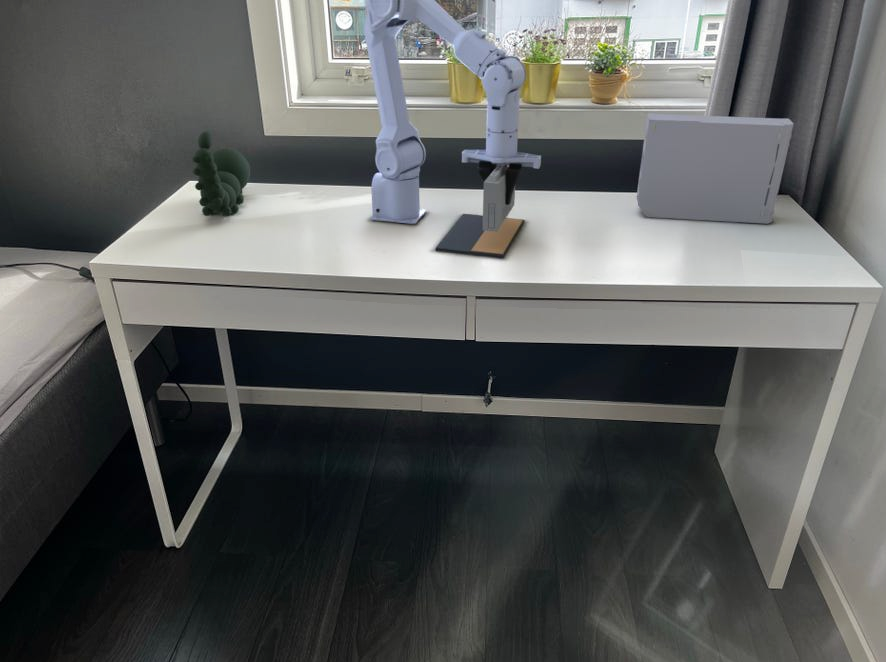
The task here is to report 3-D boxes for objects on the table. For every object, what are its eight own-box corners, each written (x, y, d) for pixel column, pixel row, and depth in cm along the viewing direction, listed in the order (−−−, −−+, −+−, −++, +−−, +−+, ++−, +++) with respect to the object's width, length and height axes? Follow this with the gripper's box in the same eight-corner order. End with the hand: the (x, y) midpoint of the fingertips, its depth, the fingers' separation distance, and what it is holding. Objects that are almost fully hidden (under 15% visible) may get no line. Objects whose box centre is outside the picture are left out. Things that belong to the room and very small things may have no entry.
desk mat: (435, 251, 142) (435, 247, 141) (463, 216, 158) (463, 213, 158) (503, 258, 138) (503, 255, 138) (524, 222, 155) (524, 219, 155)
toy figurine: (238, 233, 154) (260, 185, 174) (223, 141, 143) (247, 102, 163) (191, 233, 153) (218, 185, 174) (172, 142, 142) (203, 102, 163)
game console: (773, 225, 154) (796, 125, 144) (636, 217, 158) (649, 119, 148) (767, 215, 159) (789, 118, 149) (635, 208, 163) (647, 113, 153)
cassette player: (501, 203, 152) (503, 154, 147) (514, 205, 152) (516, 155, 147) (482, 230, 139) (483, 176, 134) (496, 231, 139) (498, 178, 134)
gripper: (457, 131, 135) (457, 205, 142) (537, 137, 132) (533, 212, 139) (467, 123, 141) (466, 194, 148) (544, 128, 138) (540, 200, 145)
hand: (499, 202), depth 144 cm, fingers closed on cassette player, 3 cm apart
